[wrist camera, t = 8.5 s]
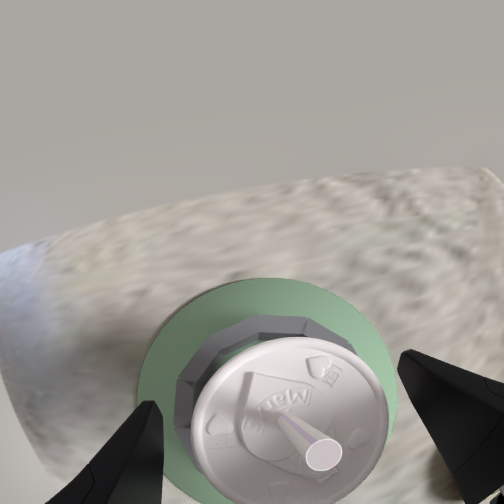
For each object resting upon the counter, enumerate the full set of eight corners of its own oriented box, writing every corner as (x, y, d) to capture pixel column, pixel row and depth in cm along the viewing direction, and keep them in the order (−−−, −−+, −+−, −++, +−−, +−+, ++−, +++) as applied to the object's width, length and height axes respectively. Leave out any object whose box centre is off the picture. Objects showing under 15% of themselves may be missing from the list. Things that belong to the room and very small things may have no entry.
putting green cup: (382, 501, 11) (403, 515, 8) (136, 496, 12) (117, 512, 9) (388, 284, 20) (409, 266, 16) (157, 271, 20) (142, 250, 17)
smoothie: (286, 343, 17) (375, 222, 5) (338, 417, 15) (512, 445, 2) (202, 392, 16) (66, 397, 3) (255, 469, 13) (267, 622, 1)
